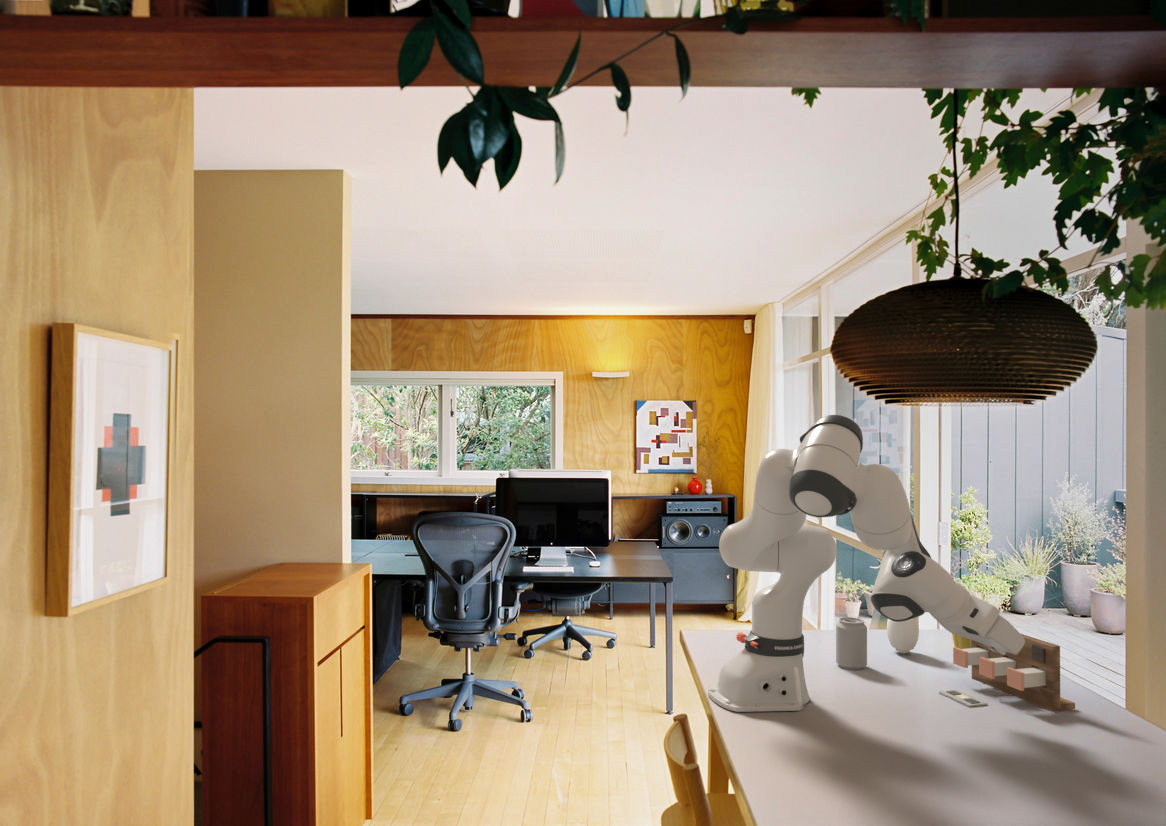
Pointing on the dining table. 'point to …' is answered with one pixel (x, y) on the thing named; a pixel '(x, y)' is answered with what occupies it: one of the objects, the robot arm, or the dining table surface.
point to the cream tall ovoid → (903, 634)
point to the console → (1031, 657)
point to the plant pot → (961, 642)
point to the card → (963, 698)
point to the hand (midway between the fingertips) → (1001, 650)
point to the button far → (969, 656)
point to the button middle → (996, 666)
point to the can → (851, 643)
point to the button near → (1026, 678)
